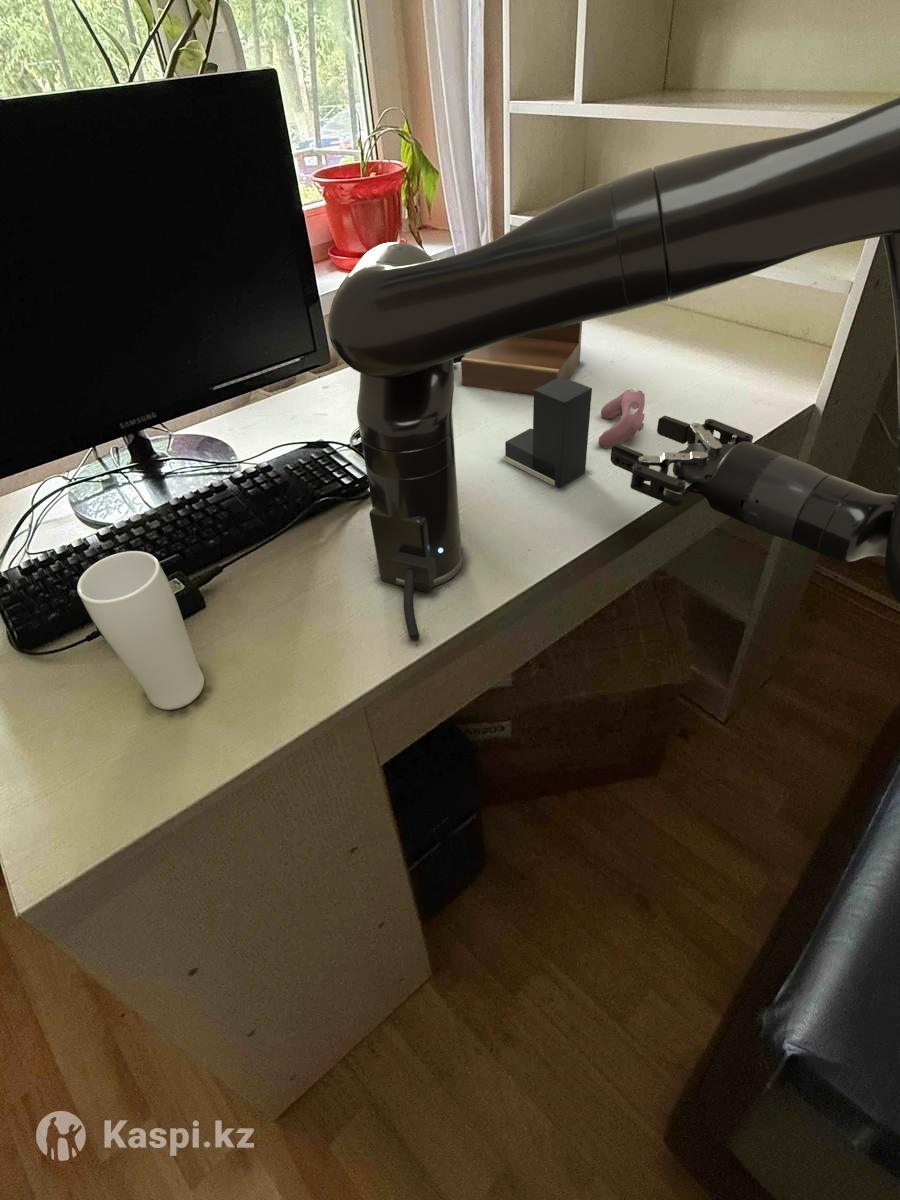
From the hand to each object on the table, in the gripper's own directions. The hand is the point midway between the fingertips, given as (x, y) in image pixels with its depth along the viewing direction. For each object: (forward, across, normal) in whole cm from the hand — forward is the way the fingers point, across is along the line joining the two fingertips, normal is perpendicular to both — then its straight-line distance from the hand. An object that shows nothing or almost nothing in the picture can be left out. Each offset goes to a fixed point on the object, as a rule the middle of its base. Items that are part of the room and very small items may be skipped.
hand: (636, 437), depth 78 cm
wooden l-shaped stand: (+36, -18, +9) cm, 41 cm away
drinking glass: (+12, +54, +9) cm, 56 cm away
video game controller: (+12, -14, +10) cm, 21 cm away
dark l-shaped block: (+14, 0, +9) cm, 17 cm away
